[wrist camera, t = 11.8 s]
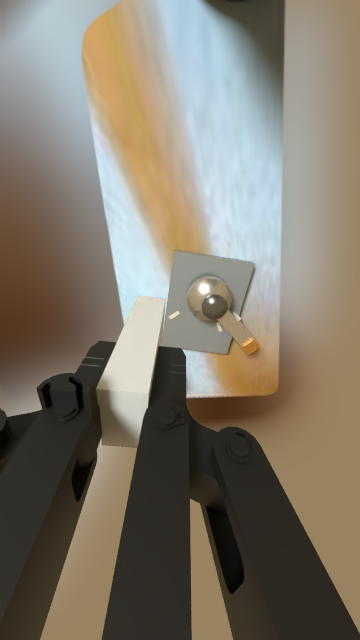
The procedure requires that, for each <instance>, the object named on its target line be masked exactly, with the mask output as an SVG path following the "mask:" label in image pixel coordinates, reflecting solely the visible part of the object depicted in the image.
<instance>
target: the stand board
mask: <svg viewBox="0 0 360 640" xmlns="http://www.w3.org/2000/svg"><path fill="white" fill-rule="evenodd" d="M254 266H255V264H254V263H253V262H249V261H243V260H237V259H230V258H224V257H218V256H211V255H205V254H199V253H192V252H186V251H180V250H175V251H174V258H173V265H172V272H171V280H170V287H169V294H168V301H167V308H166V315H165V323H164V330H163V337H162V344H161V346H165V347H175V348H181V349H189V350H197V351H205V352H213V353H221V354H227V352H228V349H229V346H230V342H231V339H232V336H231V335H230V333H229V332H228V331H227V330H226V329H225V328H224V327H223V326H222V325H221V324H220V322H219V321H218V320H217V319H215V320H201V319H199V318H197V317H195V316H194V315H193V314H192V313H191V312H190V310H189V308H188V303H187V289H188V286H189V285H190V283H191V282H192V281H193V280H194V279H195V278H196V277H198V276H200V275H203V274H215V275H217V276H219V277H221V278H222V279H223V280H224V281H225V282H226V284H227V286H228V288H229V290H230V292H231V295H232V303H231V306H230V308H229V309H230V310H231V311H232V312H233V314H234V315H235V316H236V317H237V318H238V319H239V321H240V320H241V319H242V318H241V317H239V314H240V310H241V307H242V304H243V301H244V298H245V294H246V291H247V288H248V285H249V282H250V278H251V275H252V272H253V269H254Z"/></svg>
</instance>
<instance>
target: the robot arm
mask: <svg viewBox="0 0 360 640" xmlns="http://www.w3.org/2000/svg"><path fill="white" fill-rule="evenodd" d="M227 1H243V0H227ZM164 311H165V299H163V298H154V297H145V296H137V299H136V301H135V303H134V305H133V308H132V310H131V312H130V314H129V317H128V319H127V321H126V323H125V325H124V328H123V330H122V332H121V334H120V337H119V339H118V341H117V343H116V342H106V341H99V342H98V343H96V344H95V345H94V346H92V347H91V348H90V350H89V351H88V353H87V355H86V357H85V358H84V359H83V361H82V363H81V365H80V366H79V368H78V370H77V371H76V373H75V374H74V373H66V374H65V373H64V374H59V375H56V376H53V377H51V378H49V379H47V380H45V381H43V382H42V383H41V384H40V385H39V386H38V387H37V392H38V396H39V399H40V402H41V406H42V410H40V411H36V412H32V413H27V414H21V415H16V416H11V417H7V416H6V414H5V412H4V411H3V410H1V409H0V640H40V637H41V634H42V631H43V628H44V625H45V622H46V619H47V615H48V612H49V609H50V606H51V603H52V600H53V597H54V594H55V591H56V587H57V584H58V581H59V578H60V575H61V572H62V569H63V566H64V563H65V560H66V556H67V553H68V550H69V547H70V544H71V541H72V538H73V535H74V532H75V528H76V525H77V522H78V519H79V516H80V513H81V510H82V507H83V504H84V500H85V497H86V494H87V491H88V488H89V485H90V481H91V479H92V476H93V472H94V469H95V466H96V463H97V448H98V444H99V442H100V439H102V445H109V446H121V447H133V448H137V453H136V459H135V464H134V469H133V475H132V480H131V485H130V491H129V496H128V501H127V507H126V512H125V517H124V523H123V528H122V533H121V539H120V544H119V549H118V555H117V560H116V566H115V571H114V576H113V582H112V587H111V592H110V598H109V603H108V608H107V614H106V619H105V624H104V630H103V635H102V640H192V635H191V634H192V633H191V560H190V559H191V558H190V499H192V500H194V501H196V502H198V503H200V505H201V509H202V513H203V517H204V521H205V525H206V529H207V533H208V538H209V542H210V546H211V550H212V554H213V558H214V562H215V566H216V570H217V574H218V579H219V582H220V587H221V591H222V595H223V599H224V603H225V607H226V611H227V615H228V619H229V623H230V628H231V632H232V636H233V640H360V634H359V632H358V630H357V628H356V626H355V624H354V622H353V620H352V618H351V616H350V615H349V613H348V611H347V609H346V607H345V605H344V603H343V601H342V599H341V598H340V596H339V594H338V592H337V590H336V588H335V586H334V584H333V582H332V581H331V579H330V577H329V575H328V573H327V571H326V569H325V567H324V565H323V563H322V561H321V560H320V558H319V556H318V554H317V552H316V550H315V548H314V546H313V544H312V543H311V541H310V539H309V537H308V535H307V533H306V531H305V529H304V527H303V525H302V524H301V522H300V520H299V518H298V516H297V514H296V512H295V510H294V509H293V507H292V505H291V503H290V501H289V499H288V497H287V495H286V493H285V491H284V489H283V488H282V486H281V484H280V482H279V480H278V478H277V476H276V474H275V472H274V471H273V469H272V467H271V465H270V463H269V461H268V459H267V457H266V455H265V454H264V452H263V450H262V448H261V446H260V444H259V443H258V442H257V440H256V439H255V438H254V437H253V436H252V435H251V434H250V433H248V432H247V431H245V430H243V429H240V428H238V427H226V428H224V429H221V430H220V431H219V432H216V431H214V430H212V429H209V428H206V427H204V426H202V425H201V424H198V423H197V422H196V421H195V420H194V419H193V418H192V417H191V415H190V414H189V412H188V410H187V405H186V355H185V354H184V352H183V350H182V349H181V348H175V347H165V346H161V344H162V335H163V323H164Z"/></svg>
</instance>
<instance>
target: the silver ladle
mask: <svg viewBox="0 0 360 640" xmlns="http://www.w3.org/2000/svg"><path fill="white" fill-rule="evenodd" d="M187 303H188V308H189V310H190V312H191V313H192V314H193V315H194V316H195V317H197V318H199V319H201V320H215V319H217V320H218V321H219V322H220V324H221V325H222V326H223V327H224V328H225V329H226V330H227V331H228V332H229V333H230V335H231V336H232V337H233V338H234V339H235V340H236V341H237V342H238V343H239V344H240V346H241V348H242V349H243V351H244V352H245V353H246V354H247V355H249V354H251V353H252V352H254V351H256V350H257V349H259V348H260V346H259V345H258V343H257V342H256V340H255V338H254V337H253V336H252V335H251V333H250V332H249V331H248V330H247V329H246V328H245V326H244V325H243V324H242V323H241V322H240V321H239V319H238V318H237V317H236V316H235V315H234V314H233V312H232V311H231V310H230V309H229V308H230V306H231V303H232V295H231V292H230V290H229V288H228V286H227V284H226V282H225V281H224V280H223V279H222V278H221V277H219V276H217V275H215V274H203V275H200V276H198V277H196V278H195V279H194V280H193V281H192V282H191V283H190V285H189V286H188V289H187Z"/></svg>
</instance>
